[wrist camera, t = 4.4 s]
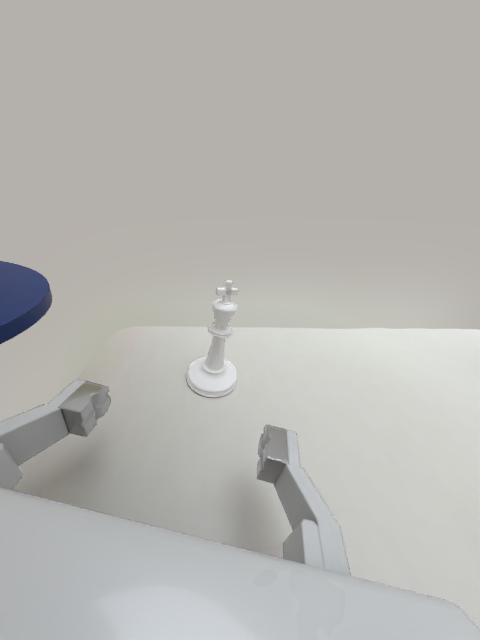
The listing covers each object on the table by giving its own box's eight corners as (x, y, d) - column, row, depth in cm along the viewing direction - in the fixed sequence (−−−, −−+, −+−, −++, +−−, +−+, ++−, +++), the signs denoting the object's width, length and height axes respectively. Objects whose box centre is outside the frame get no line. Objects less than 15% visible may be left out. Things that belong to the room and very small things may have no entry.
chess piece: (245, 389, 20) (273, 294, 15) (195, 404, 18) (210, 296, 13) (224, 356, 24) (241, 270, 19) (180, 365, 21) (187, 268, 16)
